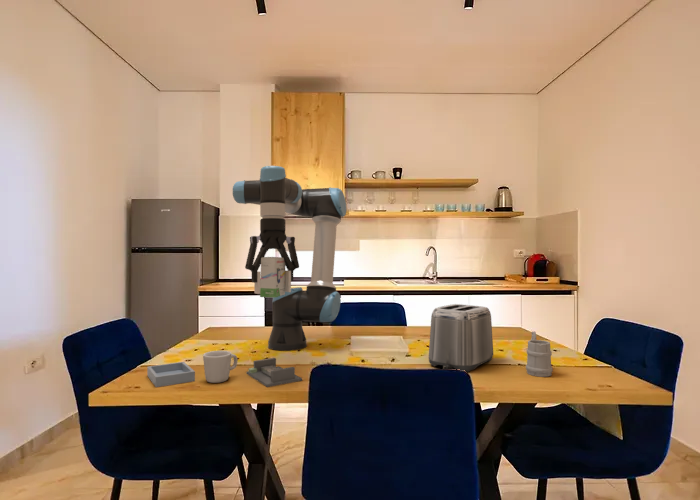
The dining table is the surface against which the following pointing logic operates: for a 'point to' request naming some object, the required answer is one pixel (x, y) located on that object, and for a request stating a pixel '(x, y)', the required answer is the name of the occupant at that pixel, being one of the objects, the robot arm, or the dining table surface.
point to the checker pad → (268, 369)
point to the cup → (218, 365)
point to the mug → (538, 357)
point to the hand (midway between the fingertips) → (272, 292)
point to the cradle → (272, 373)
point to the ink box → (272, 277)
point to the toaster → (460, 337)
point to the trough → (170, 374)
